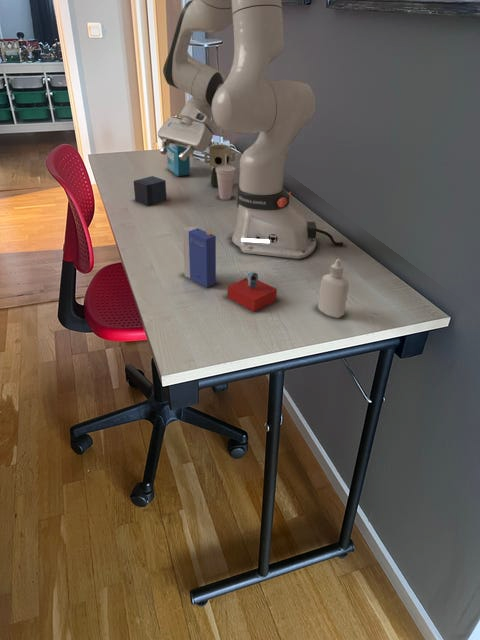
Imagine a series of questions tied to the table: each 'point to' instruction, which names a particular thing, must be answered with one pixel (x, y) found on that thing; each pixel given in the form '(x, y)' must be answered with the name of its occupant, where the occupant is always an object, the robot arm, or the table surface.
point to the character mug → (218, 159)
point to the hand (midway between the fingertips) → (171, 156)
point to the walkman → (200, 256)
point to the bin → (150, 190)
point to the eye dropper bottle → (333, 292)
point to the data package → (177, 160)
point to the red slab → (252, 292)
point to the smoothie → (225, 179)
